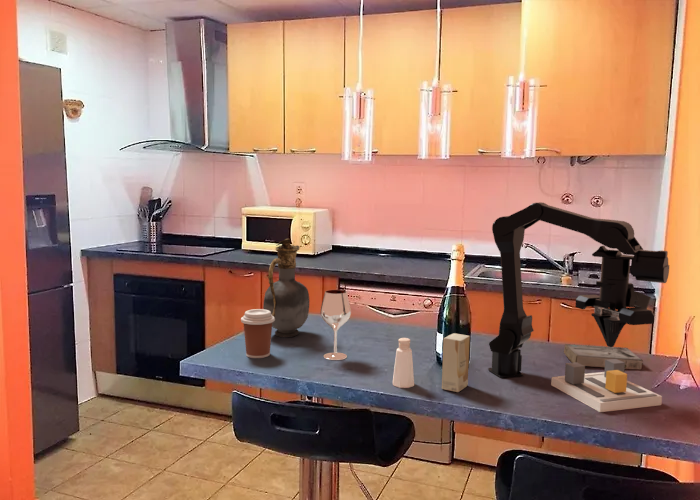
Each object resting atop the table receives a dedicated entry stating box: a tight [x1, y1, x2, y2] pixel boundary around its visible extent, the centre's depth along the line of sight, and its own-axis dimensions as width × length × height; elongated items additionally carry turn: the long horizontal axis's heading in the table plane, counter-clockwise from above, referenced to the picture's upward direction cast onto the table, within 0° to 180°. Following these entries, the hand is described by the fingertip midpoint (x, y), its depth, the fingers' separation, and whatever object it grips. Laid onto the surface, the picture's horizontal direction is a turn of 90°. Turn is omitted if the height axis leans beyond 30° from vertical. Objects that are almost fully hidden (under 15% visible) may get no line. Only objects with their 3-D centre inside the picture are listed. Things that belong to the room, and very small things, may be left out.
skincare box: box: [441, 332, 471, 393], centre depth 139 cm, size 6×4×12 cm
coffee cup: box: [240, 308, 275, 359], centre depth 163 cm, size 9×9×12 cm
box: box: [563, 343, 644, 370], centre depth 161 cm, size 11×17×3 cm, turn 86°
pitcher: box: [262, 238, 310, 338], centre depth 182 cm, size 11×19×30 cm, turn 160°
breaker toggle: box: [605, 370, 628, 393], centre depth 132 cm, size 3×3×4 cm
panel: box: [550, 359, 663, 413], centre depth 136 cm, size 16×17×6 cm
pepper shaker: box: [392, 337, 415, 389], centre depth 141 cm, size 5×5×11 cm
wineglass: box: [320, 289, 352, 361], centre depth 161 cm, size 8×8×18 cm
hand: (610, 346), depth 134 cm, fingers closed
